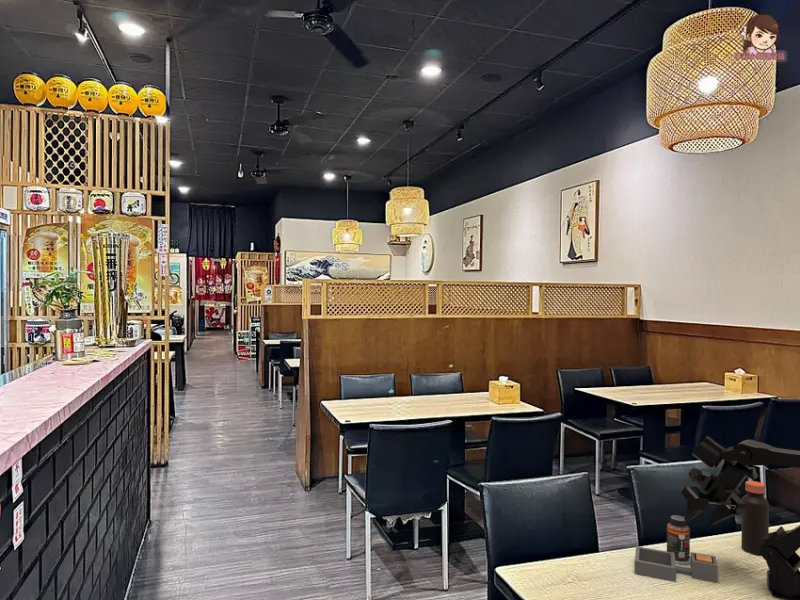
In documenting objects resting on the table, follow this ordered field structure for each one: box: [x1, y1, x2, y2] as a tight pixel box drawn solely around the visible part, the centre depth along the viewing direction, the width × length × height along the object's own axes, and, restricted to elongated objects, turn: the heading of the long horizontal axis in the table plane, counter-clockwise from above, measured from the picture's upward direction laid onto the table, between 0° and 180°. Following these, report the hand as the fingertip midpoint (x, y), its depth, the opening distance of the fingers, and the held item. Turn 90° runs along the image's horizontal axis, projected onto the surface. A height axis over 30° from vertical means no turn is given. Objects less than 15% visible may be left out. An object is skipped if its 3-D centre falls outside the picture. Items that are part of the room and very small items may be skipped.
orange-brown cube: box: [695, 552, 712, 563], centre depth 149 cm, size 4×4×4 cm
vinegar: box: [740, 480, 770, 556], centre depth 164 cm, size 7×7×20 cm
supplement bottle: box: [666, 514, 691, 561], centre depth 159 cm, size 6×6×11 cm
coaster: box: [675, 555, 691, 566], centre depth 159 cm, size 8×8×1 cm
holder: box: [634, 545, 719, 584], centre depth 150 cm, size 20×10×4 cm, turn 65°
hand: (697, 521), depth 155 cm, fingers open, 9 cm apart
